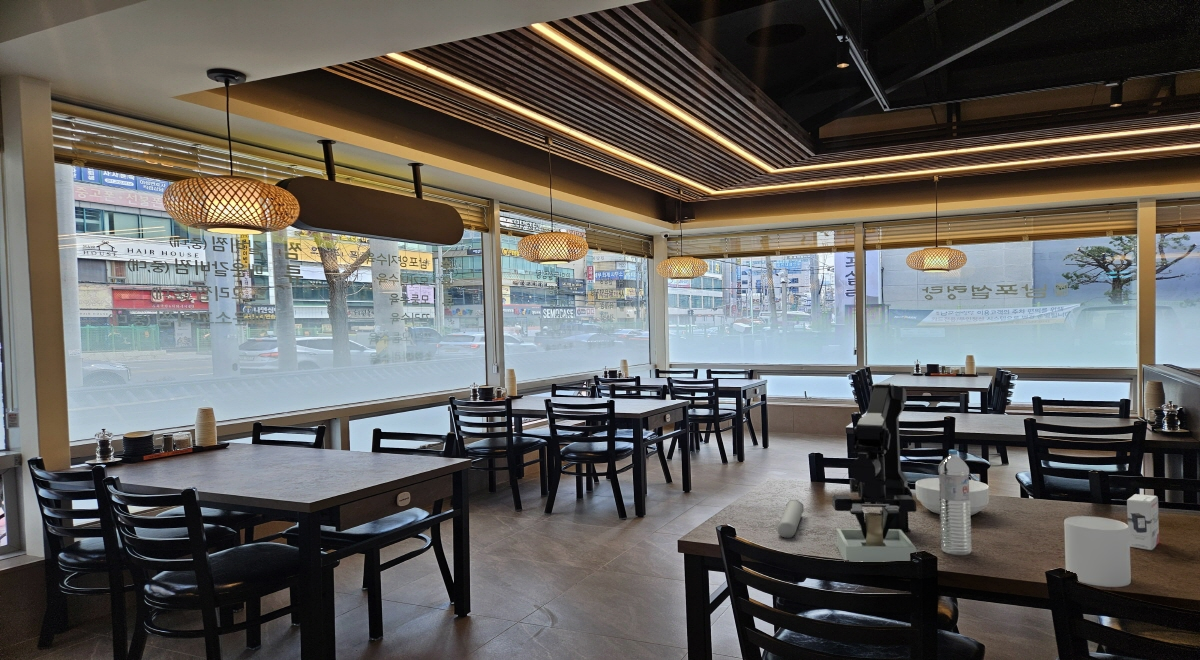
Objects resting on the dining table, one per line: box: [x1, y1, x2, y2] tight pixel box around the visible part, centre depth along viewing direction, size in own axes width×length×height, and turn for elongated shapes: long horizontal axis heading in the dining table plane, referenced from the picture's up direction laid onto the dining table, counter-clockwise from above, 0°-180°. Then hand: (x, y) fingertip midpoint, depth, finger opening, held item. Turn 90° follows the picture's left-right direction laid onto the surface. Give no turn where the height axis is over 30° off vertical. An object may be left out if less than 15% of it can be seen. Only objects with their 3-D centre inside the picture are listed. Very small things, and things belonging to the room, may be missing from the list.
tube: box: [777, 499, 805, 539], centre depth 208 cm, size 5×5×25 cm
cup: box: [1063, 515, 1132, 588], centre depth 160 cm, size 12×12×12 cm
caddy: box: [836, 528, 917, 562], centre depth 179 cm, size 16×16×4 cm
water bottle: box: [937, 449, 972, 556], centre depth 181 cm, size 7×7×25 cm
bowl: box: [915, 477, 990, 516], centre depth 217 cm, size 20×20×8 cm
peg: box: [864, 512, 883, 546], centre depth 179 cm, size 4×4×8 cm
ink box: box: [1126, 493, 1160, 551], centre depth 182 cm, size 8×5×12 cm, turn 133°
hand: (874, 538), depth 179 cm, fingers closed on peg, 4 cm apart
